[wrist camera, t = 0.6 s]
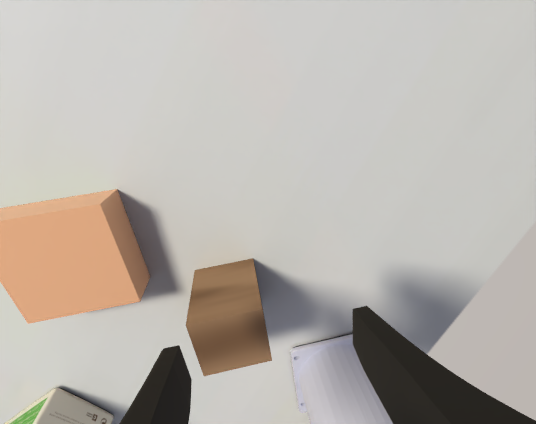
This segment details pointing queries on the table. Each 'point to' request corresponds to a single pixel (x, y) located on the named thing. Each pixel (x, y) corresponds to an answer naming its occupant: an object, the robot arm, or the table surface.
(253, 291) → the walnut block
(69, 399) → the skincare box
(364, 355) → the robot arm
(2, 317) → the table surface
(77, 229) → the terracotta block
